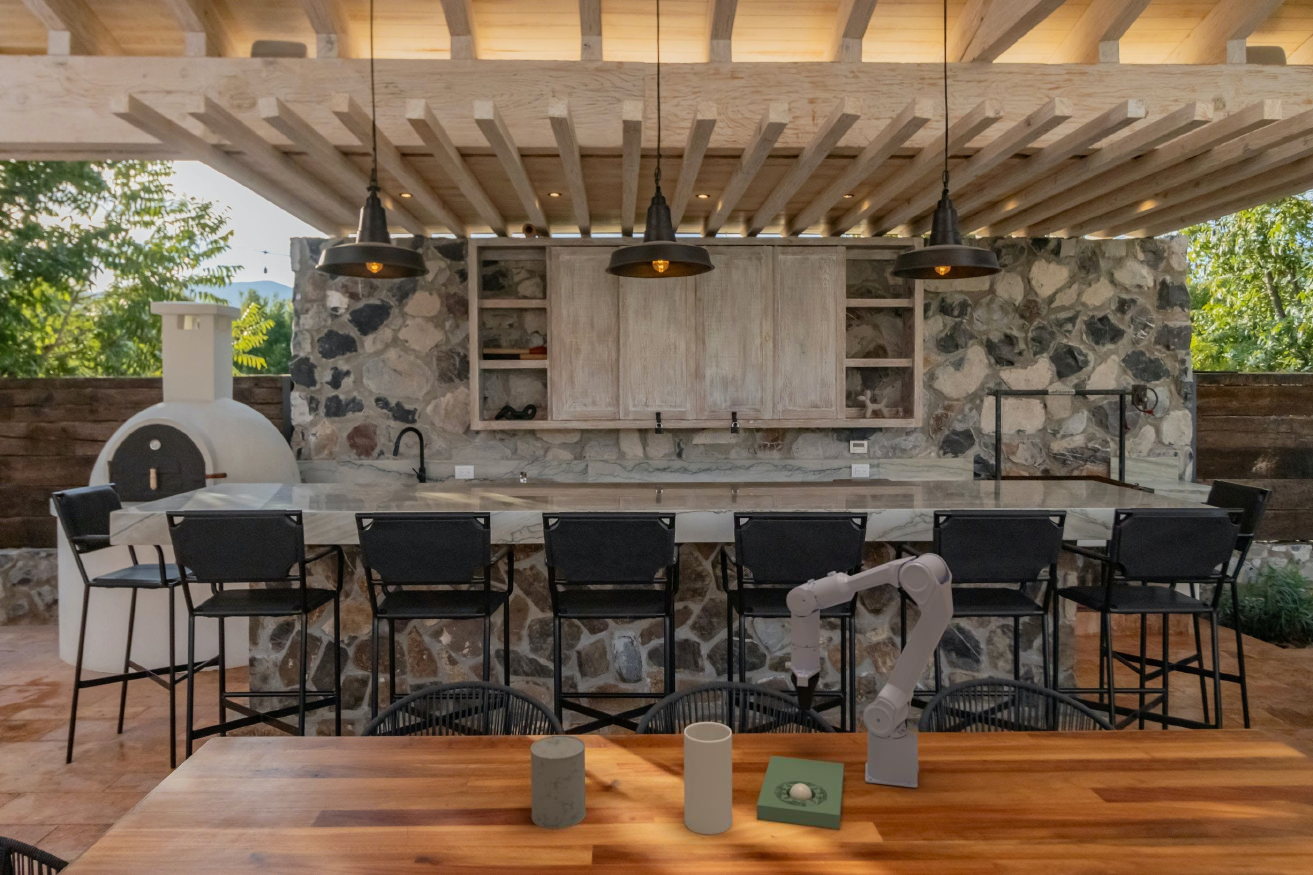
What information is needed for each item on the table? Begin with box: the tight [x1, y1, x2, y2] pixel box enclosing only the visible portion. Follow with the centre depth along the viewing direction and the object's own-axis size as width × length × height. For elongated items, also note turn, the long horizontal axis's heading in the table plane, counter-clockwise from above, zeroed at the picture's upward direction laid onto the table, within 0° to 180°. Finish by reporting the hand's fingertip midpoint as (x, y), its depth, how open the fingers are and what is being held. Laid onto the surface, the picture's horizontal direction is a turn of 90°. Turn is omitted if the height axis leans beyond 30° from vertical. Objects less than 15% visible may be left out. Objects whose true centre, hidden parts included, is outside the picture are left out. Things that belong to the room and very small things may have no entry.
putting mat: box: [756, 755, 845, 830], centre depth 150 cm, size 20×14×2 cm
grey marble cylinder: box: [530, 734, 587, 830], centre depth 144 cm, size 10×10×12 cm
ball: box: [789, 783, 812, 801], centre depth 147 cm, size 4×4×4 cm
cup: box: [683, 721, 733, 835], centre depth 141 cm, size 8×8×16 cm
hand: (805, 708), depth 168 cm, fingers closed
